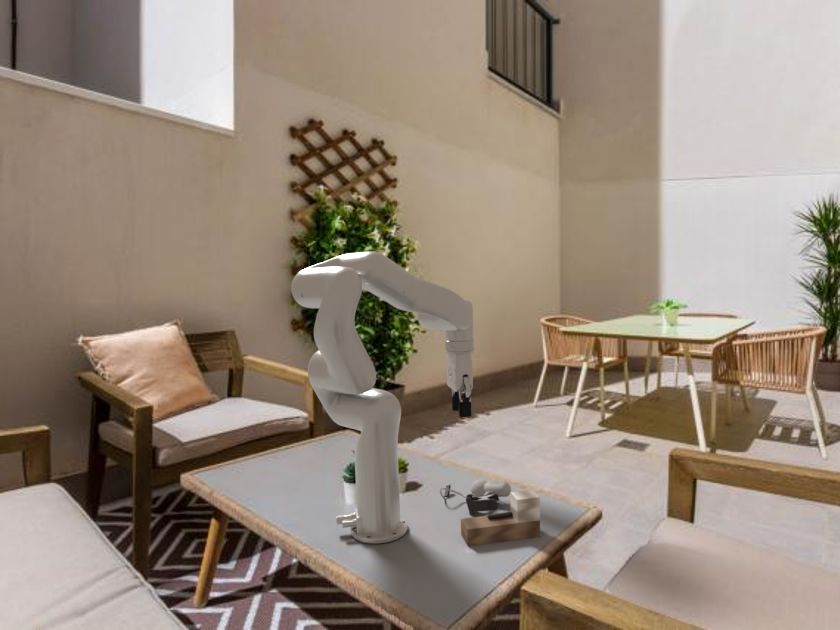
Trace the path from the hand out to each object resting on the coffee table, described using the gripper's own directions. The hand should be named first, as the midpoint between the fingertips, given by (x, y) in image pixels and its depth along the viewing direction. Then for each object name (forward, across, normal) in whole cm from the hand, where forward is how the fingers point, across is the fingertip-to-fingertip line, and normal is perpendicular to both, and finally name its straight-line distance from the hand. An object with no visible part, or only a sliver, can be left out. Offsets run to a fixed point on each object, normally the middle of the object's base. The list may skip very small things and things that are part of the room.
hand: (461, 412), depth 138 cm
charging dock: (+20, +29, 0) cm, 35 cm away
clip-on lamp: (+20, +12, -1) cm, 23 cm away
